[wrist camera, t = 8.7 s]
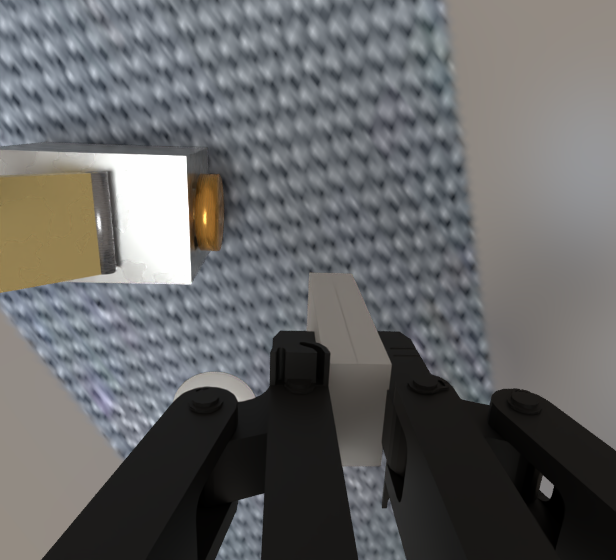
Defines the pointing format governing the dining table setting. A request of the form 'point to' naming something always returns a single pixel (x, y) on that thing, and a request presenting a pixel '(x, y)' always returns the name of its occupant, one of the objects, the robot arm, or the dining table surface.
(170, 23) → the dining table surface
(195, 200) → the pin
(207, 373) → the grey ring with handle
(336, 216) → the dining table surface
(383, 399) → the robot arm
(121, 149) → the block
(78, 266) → the plate
